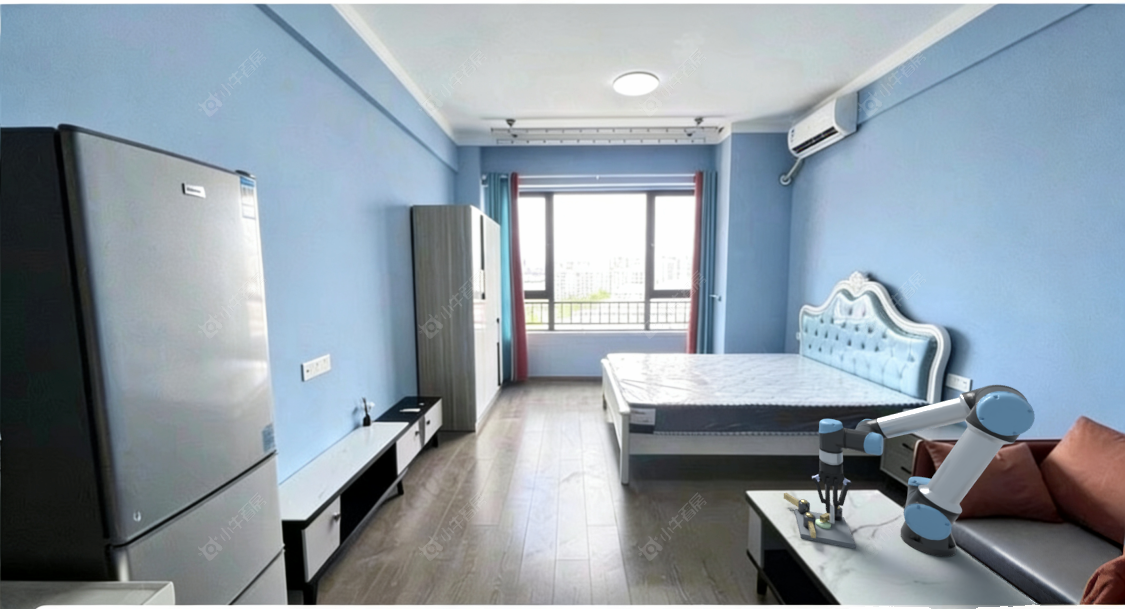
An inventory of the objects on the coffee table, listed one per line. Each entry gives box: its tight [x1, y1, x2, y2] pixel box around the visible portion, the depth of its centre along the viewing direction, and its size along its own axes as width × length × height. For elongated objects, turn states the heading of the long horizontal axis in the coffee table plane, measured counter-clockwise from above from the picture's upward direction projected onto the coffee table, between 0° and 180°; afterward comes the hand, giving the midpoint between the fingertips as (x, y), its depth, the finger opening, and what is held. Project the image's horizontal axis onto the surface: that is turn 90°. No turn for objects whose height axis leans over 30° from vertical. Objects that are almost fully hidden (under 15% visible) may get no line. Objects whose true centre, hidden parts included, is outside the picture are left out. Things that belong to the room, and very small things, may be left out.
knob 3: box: [820, 506, 843, 523], centre depth 162 cm, size 12×4×5 cm, turn 117°
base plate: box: [794, 508, 857, 549], centre depth 160 cm, size 17×18×3 cm
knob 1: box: [783, 492, 811, 514], centre depth 172 cm, size 12×4×5 cm, turn 17°
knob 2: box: [803, 512, 816, 538], centre depth 155 cm, size 12×4×5 cm, turn 157°
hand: (831, 521), depth 159 cm, fingers closed
